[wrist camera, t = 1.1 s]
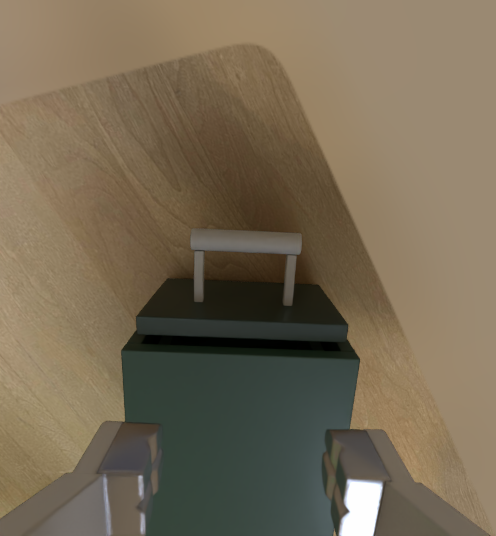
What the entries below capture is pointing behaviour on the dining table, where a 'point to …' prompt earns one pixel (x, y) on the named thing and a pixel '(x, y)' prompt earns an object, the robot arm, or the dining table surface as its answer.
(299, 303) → the drawer
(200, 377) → the cabinet
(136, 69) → the dining table surface
